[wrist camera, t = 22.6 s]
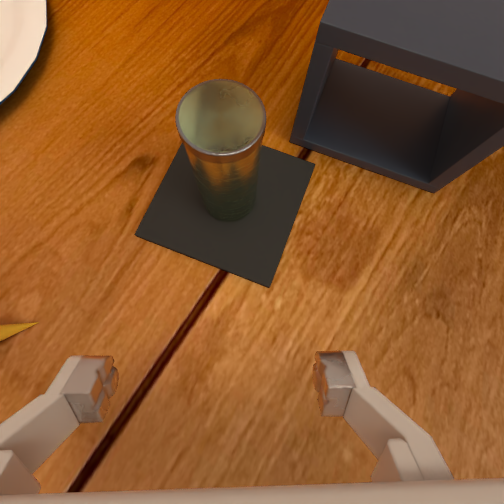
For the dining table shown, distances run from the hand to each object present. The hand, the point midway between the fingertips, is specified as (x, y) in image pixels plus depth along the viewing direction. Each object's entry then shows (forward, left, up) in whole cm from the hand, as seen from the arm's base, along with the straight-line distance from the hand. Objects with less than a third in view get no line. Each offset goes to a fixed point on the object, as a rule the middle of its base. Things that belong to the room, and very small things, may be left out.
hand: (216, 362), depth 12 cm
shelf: (-5, -24, -11) cm, 27 cm away
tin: (+5, -11, -10) cm, 16 cm away
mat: (+5, -11, -11) cm, 16 cm away
